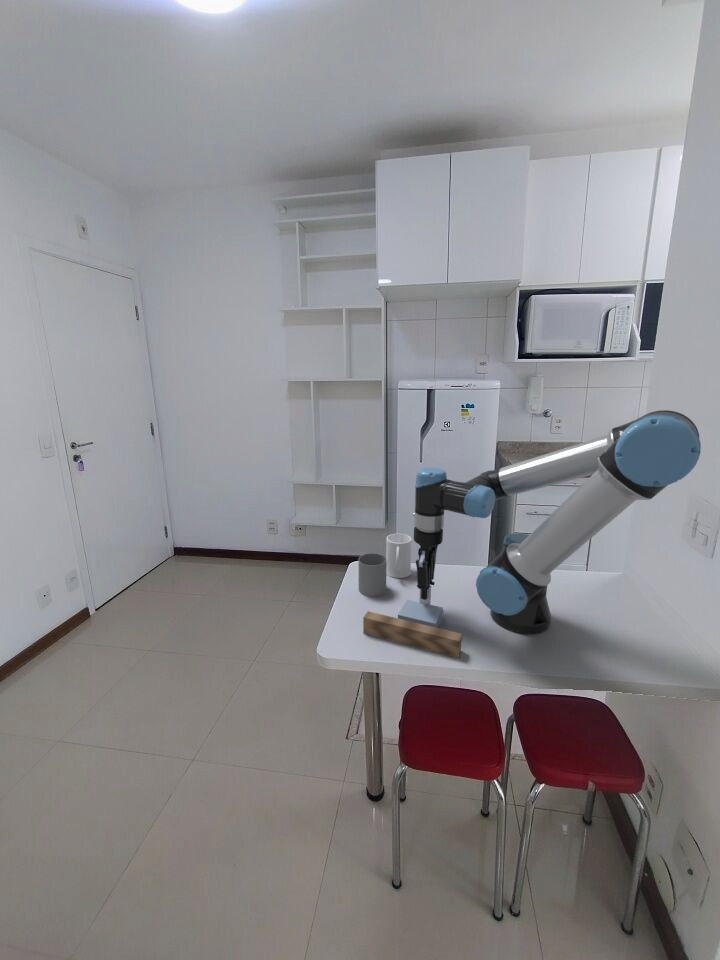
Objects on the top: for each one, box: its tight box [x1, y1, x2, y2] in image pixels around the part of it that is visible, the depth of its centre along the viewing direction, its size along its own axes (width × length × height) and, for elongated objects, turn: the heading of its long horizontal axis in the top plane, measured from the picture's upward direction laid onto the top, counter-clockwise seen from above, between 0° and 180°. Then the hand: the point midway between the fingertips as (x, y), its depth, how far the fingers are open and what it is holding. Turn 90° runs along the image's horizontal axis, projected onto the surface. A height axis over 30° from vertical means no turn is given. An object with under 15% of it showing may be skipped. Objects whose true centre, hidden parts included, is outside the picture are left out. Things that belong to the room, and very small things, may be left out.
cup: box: [357, 552, 387, 597], centre depth 128 cm, size 8×8×10 cm
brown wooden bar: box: [362, 610, 463, 659], centre depth 104 cm, size 24×3×4 cm, turn 67°
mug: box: [385, 533, 413, 579], centre depth 136 cm, size 12×8×12 cm
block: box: [397, 599, 444, 628], centre depth 112 cm, size 10×8×4 cm
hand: (424, 607), depth 117 cm, fingers closed
